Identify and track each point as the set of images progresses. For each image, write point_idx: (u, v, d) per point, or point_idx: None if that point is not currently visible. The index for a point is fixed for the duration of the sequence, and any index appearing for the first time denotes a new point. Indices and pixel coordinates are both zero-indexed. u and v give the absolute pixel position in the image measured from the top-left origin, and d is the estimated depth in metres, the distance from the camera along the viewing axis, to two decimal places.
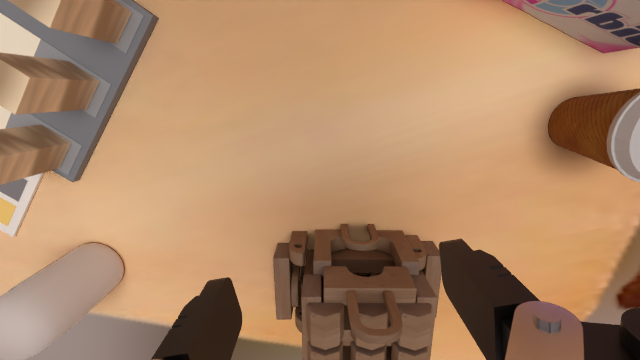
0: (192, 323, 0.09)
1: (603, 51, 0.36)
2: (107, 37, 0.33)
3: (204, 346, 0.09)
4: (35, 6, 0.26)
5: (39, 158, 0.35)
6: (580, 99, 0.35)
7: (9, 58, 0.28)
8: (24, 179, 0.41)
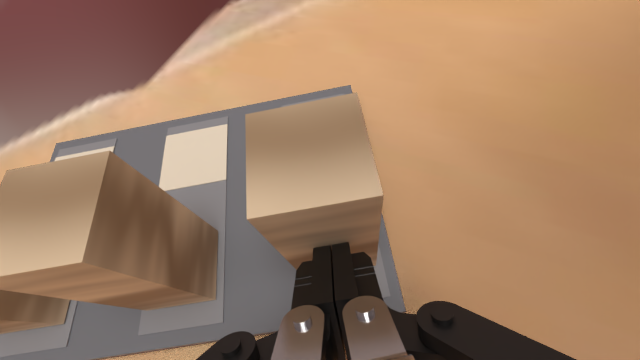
0: (321, 280, 0.10)
1: None
2: None
3: (335, 300, 0.10)
4: (273, 165, 0.10)
5: None
6: None
7: (127, 187, 0.11)
8: None
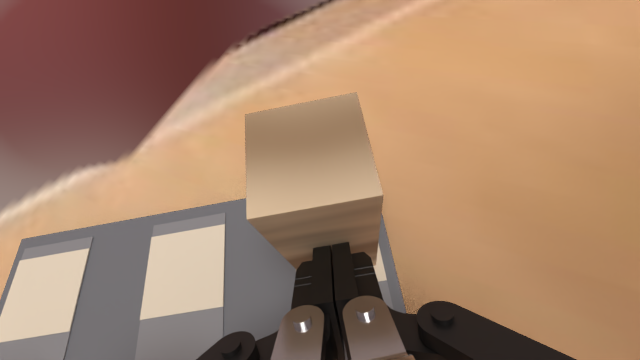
0: (321, 280, 0.10)
1: None
2: None
3: (334, 300, 0.10)
4: (273, 165, 0.10)
5: None
6: None
7: None
8: None
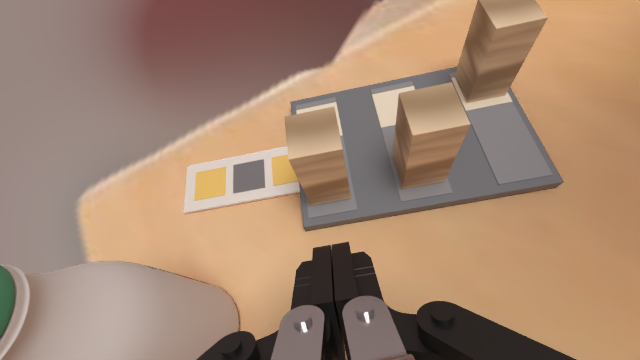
0: (321, 280, 0.10)
1: None
2: (476, 89, 0.31)
3: (335, 300, 0.10)
4: (499, 13, 0.25)
5: (331, 183, 0.26)
6: None
7: None
8: (264, 184, 0.33)
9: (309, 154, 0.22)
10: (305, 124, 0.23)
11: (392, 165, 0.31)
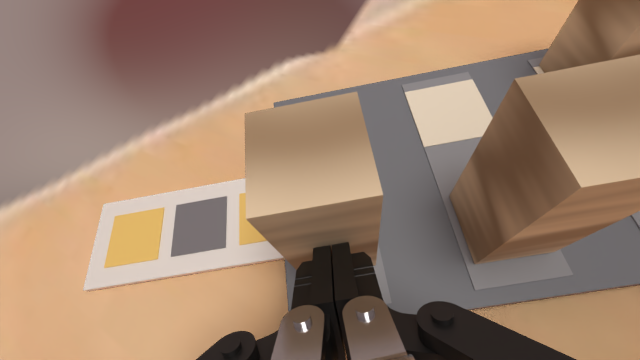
0: (321, 280, 0.10)
1: None
2: None
3: (335, 300, 0.10)
4: None
5: None
6: None
7: None
8: (225, 241, 0.19)
9: (298, 205, 0.09)
10: (291, 131, 0.10)
11: (449, 215, 0.17)
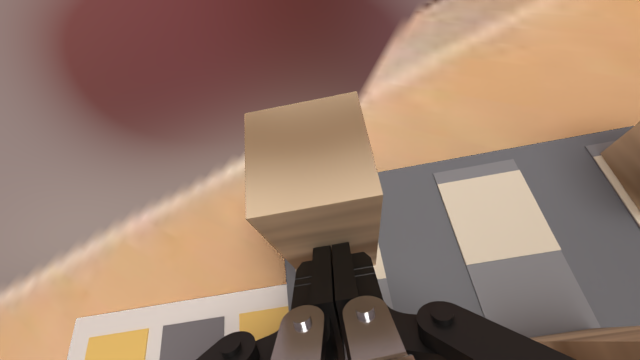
0: (321, 280, 0.10)
1: None
2: None
3: (335, 300, 0.10)
4: None
5: None
6: None
7: None
8: None
9: (298, 205, 0.09)
10: (290, 131, 0.10)
11: None
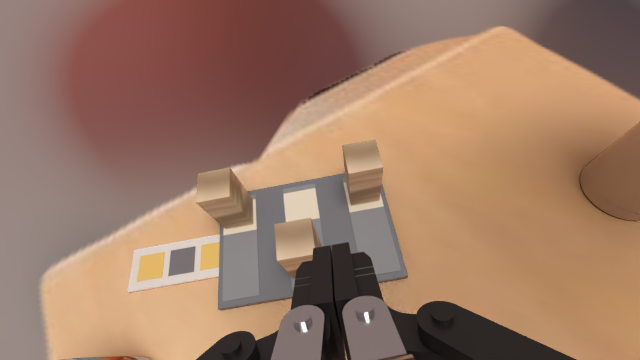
0: (321, 280, 0.10)
1: None
2: (354, 199, 0.41)
3: (335, 300, 0.10)
4: (353, 160, 0.36)
5: (233, 215, 0.40)
6: None
7: (313, 229, 0.33)
8: (193, 268, 0.42)
9: (209, 199, 0.35)
10: (210, 179, 0.37)
11: None
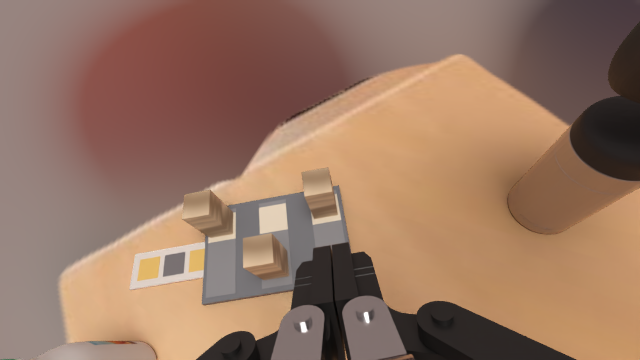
0: (321, 280, 0.10)
1: None
2: (315, 214, 0.49)
3: (335, 300, 0.10)
4: (309, 185, 0.44)
5: (214, 227, 0.48)
6: None
7: (274, 242, 0.41)
8: (183, 270, 0.51)
9: (192, 216, 0.44)
10: (194, 199, 0.45)
11: None
